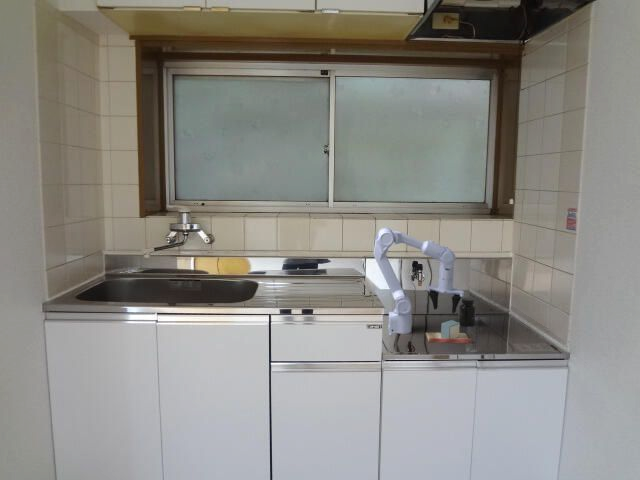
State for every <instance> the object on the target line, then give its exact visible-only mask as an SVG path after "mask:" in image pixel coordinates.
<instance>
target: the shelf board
mask: <svg viewBox="0 0 640 480" xmlns="http://www.w3.org/2000/svg"><path fill="white" fill-rule="evenodd" d="M425 336H426V338H427V340H428V343H436V344H437V343H446V344H447V343H448V344H454V343H455V344H472V343H473V339H472V338H469V336H468V335H467V333H466V332H459V338H441V332H425Z"/></svg>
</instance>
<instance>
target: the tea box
mask: <svg viewBox="0 0 640 480" xmlns="http://www.w3.org/2000/svg"><path fill="white" fill-rule="evenodd" d="M460 327H461V325H460V323H458V321H455V320H453V319H451V320H447V321H444V322H441V329H440V333H441V338H459V333H461V332H460V331H461V330H460Z"/></svg>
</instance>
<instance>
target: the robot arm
mask: <svg viewBox="0 0 640 480" xmlns="http://www.w3.org/2000/svg"><path fill="white" fill-rule="evenodd" d="M399 244H404V245H408V246H409V247H413V248H415V249H418V250H420V251H421V254H423V255H425V256H427V257H429V258H432V259H434V260H438V261H439V265H438V285H428V286H427V292H429V293H428V295H429V298H430V299H431V303H432V306H433V310H437V309H438V307H439V305H438V302H439V301H438V300H439V294H446V295H452V296H451V302H452V308H451V313H452V314H455V313H456V311H457V308H458V306H459V302H460V300H462V298H464V296H465V291H464V290H461V289H457V288H454V275H455V273H454V272H455V271H454V268H455V267H454V265H455V261H456V259H457V257H456V254H455V252H454V251H453V250H452V249H451V248H450V247H447V246H445V245H439V244H437V243H435V241H434V240H432V239H431V240H426V241H425V240H424V241H422V240H420V239H417V238H415V237H413V236H411V235H408V234H406V233H404V232H401V231H398V230H395V229H390V228H388V227H382V228H380V230H379V231H378V233H377V234H376V237H375V242H374V246H373V247H374V248H373V257H374V259H375V261H376V263H377V265H378V267H379V269H380V272H381V273H382V276H383V278H384V280H385V282H386V283H387V284H386V285H387V286H388V288H389V290H390V292H391V295H392V298H393V299H394V304H395V308H394V309H393V311H389V312H388V326H387V330H388V333H389V336H392V334H400V335H401V334H403V335H406V334H410V333H412V323H413V322H412V319H413V317H412V315H413V310H412V308H413V305H412V302H411V299H410V296H409V295H408V294H407V293H406V292H405V290H404V289H403V288H402V285H401V283H400V281H399V279H398V277H397V275H396V273H395V271H394V269H393V267H392V265H391V262H390V261H389V258H388V256H387V253H388V251H389V248H391V247H392V245H399Z"/></svg>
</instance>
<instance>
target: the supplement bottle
mask: <svg viewBox="0 0 640 480" xmlns="http://www.w3.org/2000/svg"><path fill="white" fill-rule="evenodd" d="M474 302H475V301H474V298H471V297H461V303H460V305H458V321H457V322H458V323H460V327H461V326H462V327H469V328H471V327H474V326H475V325H476V316H477V315H476V314H477V307H476V306H475V305H474V304H475V303H474Z"/></svg>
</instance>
